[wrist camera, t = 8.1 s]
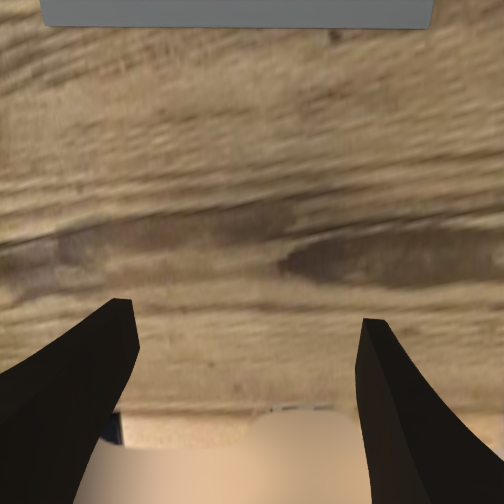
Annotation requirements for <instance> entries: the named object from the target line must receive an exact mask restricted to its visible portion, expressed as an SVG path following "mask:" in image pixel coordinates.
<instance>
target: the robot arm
mask: <svg viewBox="0 0 504 504" xmlns="http://www.w3.org/2000/svg"><path fill="white" fill-rule="evenodd" d="M139 350H140V345H139V339H138V333H137V328H136V322H135V317H134V311H133V305H132V300H130V299H117V298H113V299H111V300H110V301H108V302H107V303H105V304H104V305H103V306H101V307H100V308H99V309H97V310H96V311H95V312H93V313H92V314H90V315H89V316H88V317H86V318H85V319H84V320H82V321H81V322H80V323H78V324H77V325H76V326H74V327H73V328H71V329H70V330H69V331H67V332H66V333H64V334H63V335H62V336H60V337H59V338H57V339H56V340H54V341H53V342H51V343H50V344H48V345H47V346H45V347H44V348H42V349H41V350H39V351H38V352H36V353H35V354H33V355H32V356H30V357H29V358H27V359H25V360H24V361H22V362H20V363H19V364H17V365H15V366H13V367H12V368H10V369H8V370H6V371H4V372H3V373H1V374H0V504H73V501H74V498H75V496H76V493H77V490H78V487H79V485H80V482H81V480H82V477H83V474H84V472H85V469H86V467H87V464H88V462H89V459H90V457H91V454H92V452H93V450H94V447H95V445H96V443H97V441H98V439H99V437H100V435H101V433H102V431H103V429H104V427H105V425H106V423H107V421H108V419H109V417H110V416H111V414H112V412H113V410H114V408H115V406H116V404H117V402H118V400H119V398H120V396H121V394H122V392H123V390H124V388H125V386H126V384H127V382H128V380H129V378H130V376H131V373H132V370H133V368H134V365H135V362H136V359H137V356H138V353H139ZM355 380H356V399H357V406H358V412H359V418H360V424H361V429H362V435H363V441H364V447H365V453H366V458H367V464H368V470H369V477H370V485H371V497H372V504H504V461H503V460H501V458H499V457H498V456H497V455H496V454H495V453H494V452H493V451H492V450H491V449H490V448H488V447H487V446H486V445H485V444H484V443H483V442H482V441H481V440H480V439H478V438H477V437H476V436H475V435H474V434H473V433H472V432H471V431H470V430H469V429H468V428H467V427H466V426H465V425H464V424H463V423H462V422H461V420H460V419H459V418H458V417H457V416H456V415H455V414H454V413H453V412H452V411H451V410H450V409H449V407H448V406H447V405H446V404H445V403H444V402H443V401H442V399H441V398H440V397H439V396H438V395H437V393H436V392H435V391H434V390H433V388H432V387H431V386H430V385H429V383H428V382H427V381H426V380H425V378H424V377H423V376H422V374H421V373H420V372H419V370H418V369H417V367H416V366H415V365H414V363H413V362H412V361H411V359H410V358H409V356H408V355H407V353H406V352H405V350H404V349H403V347H402V346H401V344H400V343H399V341H398V340H397V338H396V336H395V335H394V333H393V332H392V330H391V328H390V327H389V325H388V323H387V322H386V321H385V320H381V319H368V318H363V323H362V329H361V335H360V341H359V347H358V353H357V359H356V365H355Z"/></svg>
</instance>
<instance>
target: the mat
mask: <svg viewBox="0 0 504 504" xmlns="http://www.w3.org/2000/svg"><path fill="white" fill-rule="evenodd" d="M39 1H40V5H41V10H42V15H43V19H44V24H45V26H102V27H246V28H390V29H429V25H430V19H431V14H432V9H433V3H434V0H39Z"/></svg>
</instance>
